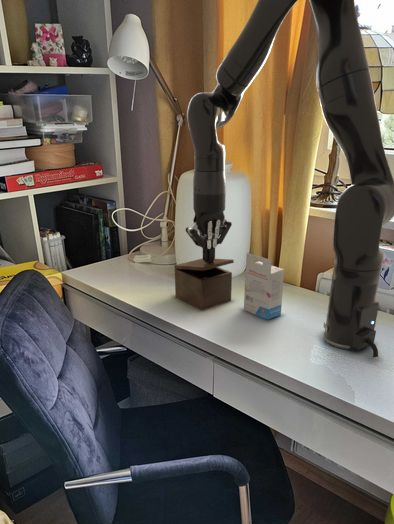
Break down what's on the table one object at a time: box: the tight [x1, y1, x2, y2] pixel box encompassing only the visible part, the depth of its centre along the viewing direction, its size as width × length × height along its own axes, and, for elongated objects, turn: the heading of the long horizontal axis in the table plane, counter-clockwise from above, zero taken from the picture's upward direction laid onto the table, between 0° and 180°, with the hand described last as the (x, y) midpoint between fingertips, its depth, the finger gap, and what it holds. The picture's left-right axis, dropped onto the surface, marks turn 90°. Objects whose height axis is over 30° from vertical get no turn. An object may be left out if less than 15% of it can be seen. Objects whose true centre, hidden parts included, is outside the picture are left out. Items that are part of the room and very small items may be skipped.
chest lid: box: [174, 258, 235, 271], centre depth 121 cm, size 12×10×1 cm
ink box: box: [243, 252, 285, 321], centre depth 114 cm, size 8×5×15 cm, turn 39°
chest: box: [174, 266, 233, 311], centre depth 124 cm, size 12×10×8 cm
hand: (208, 262), depth 119 cm, fingers closed
